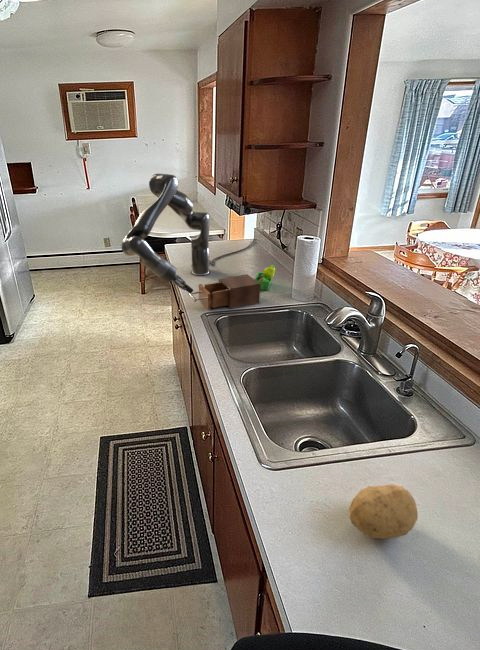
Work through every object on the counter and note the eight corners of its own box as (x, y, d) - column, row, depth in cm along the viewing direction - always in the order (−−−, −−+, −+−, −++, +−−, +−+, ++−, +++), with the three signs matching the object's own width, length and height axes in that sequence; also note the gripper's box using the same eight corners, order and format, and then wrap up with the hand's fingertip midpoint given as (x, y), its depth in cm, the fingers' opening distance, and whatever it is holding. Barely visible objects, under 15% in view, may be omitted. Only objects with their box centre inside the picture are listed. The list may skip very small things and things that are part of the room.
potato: (332, 514, 82) (337, 487, 79) (387, 495, 85) (394, 469, 82) (366, 560, 73) (373, 532, 70) (425, 536, 77) (434, 509, 73)
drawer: (195, 312, 168) (195, 296, 165) (187, 302, 178) (186, 286, 175) (236, 304, 173) (236, 288, 170) (225, 295, 183) (225, 279, 180)
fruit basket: (257, 281, 199) (258, 260, 194) (275, 283, 196) (276, 262, 192) (253, 290, 189) (254, 268, 185) (272, 292, 187) (273, 269, 182)
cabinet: (229, 308, 172) (230, 288, 168) (218, 297, 183) (218, 278, 179) (259, 303, 176) (260, 283, 172) (246, 292, 187) (247, 274, 183)
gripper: (173, 267, 156) (202, 290, 164) (164, 257, 167) (191, 279, 176) (161, 281, 157) (191, 303, 165) (153, 270, 168) (181, 292, 176)
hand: (191, 291), depth 170 cm, fingers closed
